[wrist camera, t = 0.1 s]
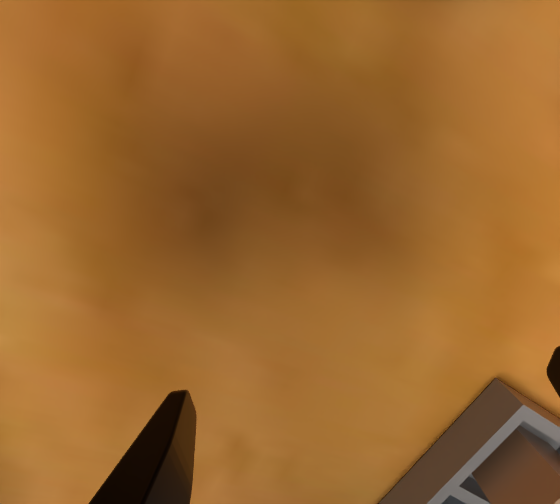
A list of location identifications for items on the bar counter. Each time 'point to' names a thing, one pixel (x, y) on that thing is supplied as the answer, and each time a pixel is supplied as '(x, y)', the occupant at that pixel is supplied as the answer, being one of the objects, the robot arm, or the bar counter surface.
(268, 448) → the bar counter surface
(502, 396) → the grid tray
